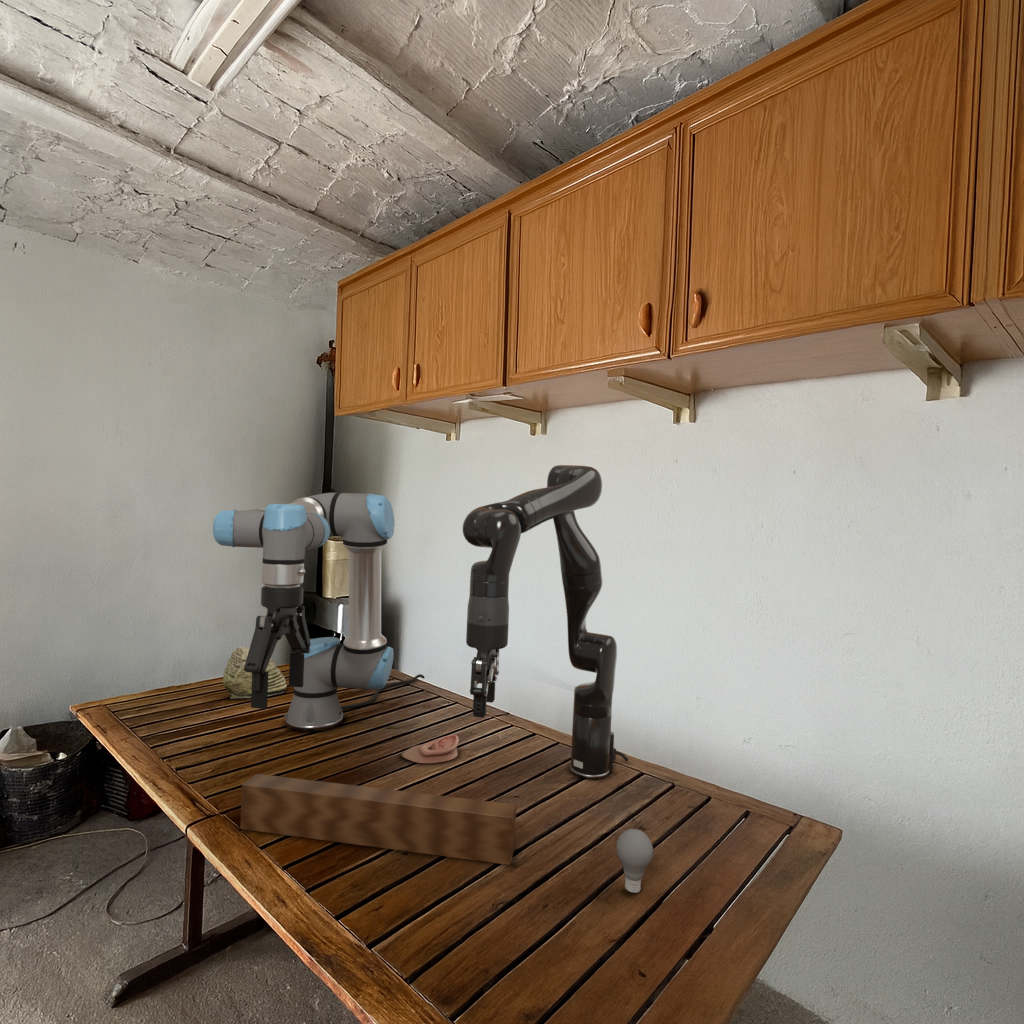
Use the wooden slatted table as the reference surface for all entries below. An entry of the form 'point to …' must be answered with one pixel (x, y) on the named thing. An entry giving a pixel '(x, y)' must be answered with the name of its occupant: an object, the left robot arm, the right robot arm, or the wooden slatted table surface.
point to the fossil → (249, 676)
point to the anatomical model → (434, 750)
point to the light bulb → (634, 857)
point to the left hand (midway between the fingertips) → (278, 696)
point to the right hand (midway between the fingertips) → (484, 708)
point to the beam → (380, 818)
